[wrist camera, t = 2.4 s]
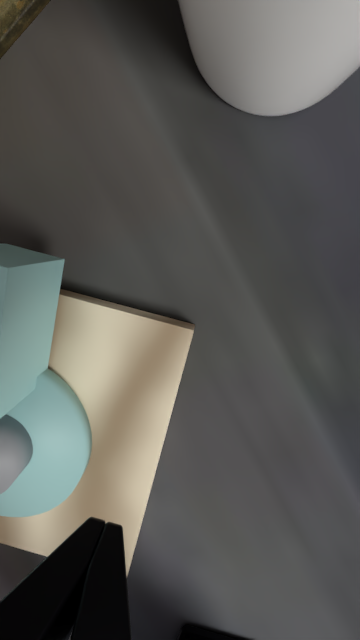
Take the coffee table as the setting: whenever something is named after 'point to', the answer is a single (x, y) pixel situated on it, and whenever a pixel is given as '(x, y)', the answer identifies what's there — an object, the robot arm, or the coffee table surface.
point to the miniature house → (16, 19)
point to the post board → (110, 414)
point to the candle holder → (273, 50)
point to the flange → (35, 391)
